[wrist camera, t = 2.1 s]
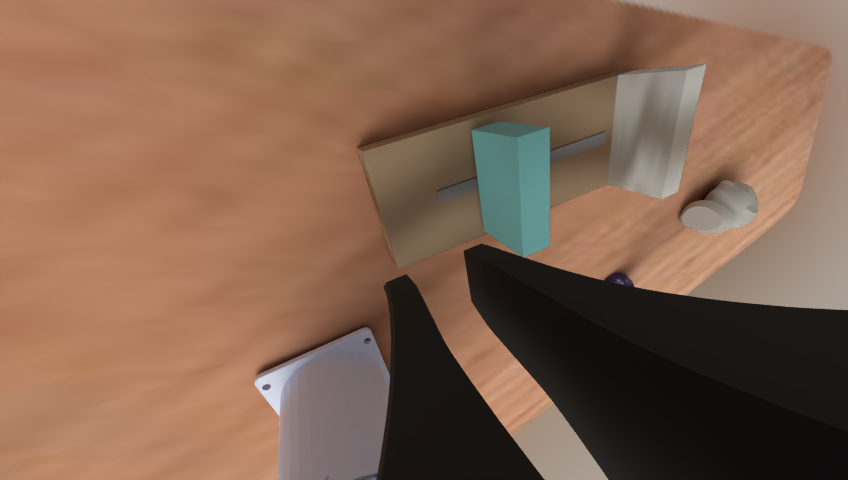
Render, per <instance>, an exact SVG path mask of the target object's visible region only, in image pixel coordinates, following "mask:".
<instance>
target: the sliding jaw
mask: <svg viewBox="0 0 848 480" xmlns="http://www.w3.org/2000/svg"><path fill="white" fill-rule="evenodd" d="M472 138H473V146H474V154H475V162H476V170H477V178H478V186H479V194H480V202H481V210H482V219H483V227H484V231H485V232H486V233H488V234H489V235H491V236H492V237H494V238H495V239H497V240H498V241H500V242H501V243H503V244H504V245H505V246H507V247H508V248H510V249H511V250H513V251H514V252H516V253H517V254H519V255H520V256H522V257H526V256H528V255H531V254H533V253H535V252H537V251H540V250H542V249H544V248H546V247H549V246H550V127H545V126H536V125H527V124H518V123H509V122H496V123H492V124H489V125H486V126H483V127H479V128H476V129H473V130H472Z"/></svg>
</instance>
